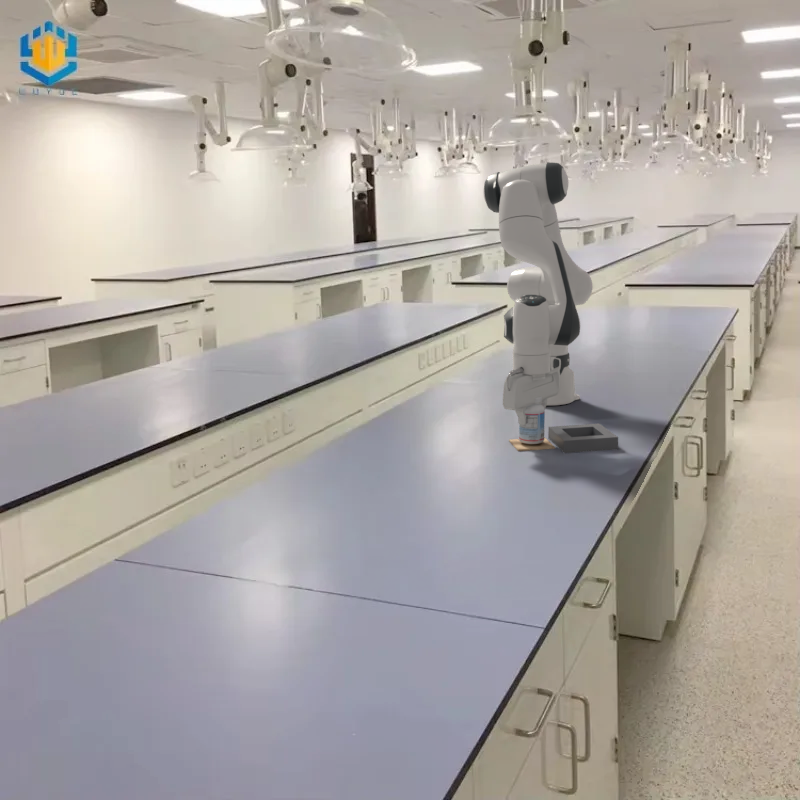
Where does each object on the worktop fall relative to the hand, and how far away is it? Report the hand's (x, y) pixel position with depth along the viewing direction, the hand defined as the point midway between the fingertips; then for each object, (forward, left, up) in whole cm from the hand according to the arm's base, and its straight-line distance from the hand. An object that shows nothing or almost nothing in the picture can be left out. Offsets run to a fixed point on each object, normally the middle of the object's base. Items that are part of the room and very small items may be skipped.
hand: (531, 420), depth 207 cm
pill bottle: (0, 0, -5) cm, 5 cm away
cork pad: (0, 0, -6) cm, 6 cm away
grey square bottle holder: (+2, +12, -6) cm, 14 cm away
